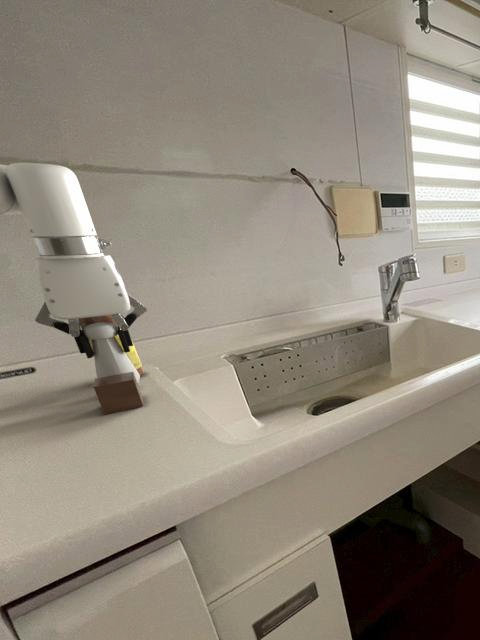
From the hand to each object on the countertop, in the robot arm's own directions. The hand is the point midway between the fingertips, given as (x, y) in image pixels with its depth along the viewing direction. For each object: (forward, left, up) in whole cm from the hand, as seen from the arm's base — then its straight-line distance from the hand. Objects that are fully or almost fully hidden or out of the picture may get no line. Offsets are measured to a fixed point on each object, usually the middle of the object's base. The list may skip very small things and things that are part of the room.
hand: (109, 352), depth 73 cm
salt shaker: (0, 0, -8) cm, 8 cm away
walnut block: (+7, -3, -8) cm, 11 cm away
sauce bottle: (-8, +3, -8) cm, 12 cm away
